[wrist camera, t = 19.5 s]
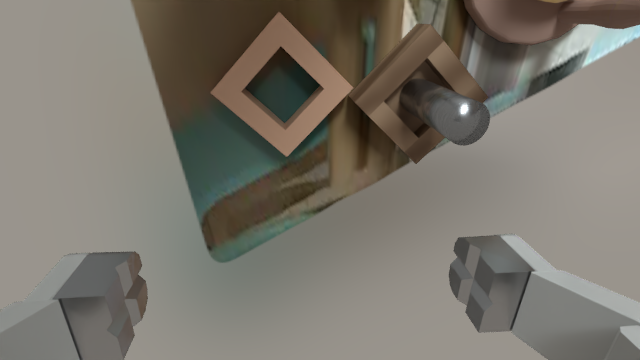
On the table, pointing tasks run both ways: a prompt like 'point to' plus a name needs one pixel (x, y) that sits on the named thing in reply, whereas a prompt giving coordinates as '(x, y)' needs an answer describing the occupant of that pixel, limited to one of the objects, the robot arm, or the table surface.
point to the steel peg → (445, 111)
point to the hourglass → (548, 17)
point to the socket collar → (257, 113)
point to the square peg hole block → (402, 66)
